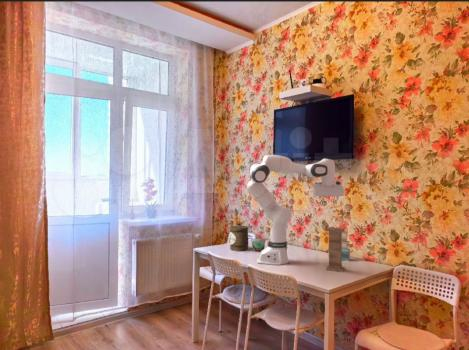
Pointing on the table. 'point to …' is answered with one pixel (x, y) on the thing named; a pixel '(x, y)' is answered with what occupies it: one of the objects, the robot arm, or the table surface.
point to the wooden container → (239, 237)
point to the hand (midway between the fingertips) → (328, 202)
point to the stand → (335, 249)
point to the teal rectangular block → (345, 247)
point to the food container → (258, 244)
